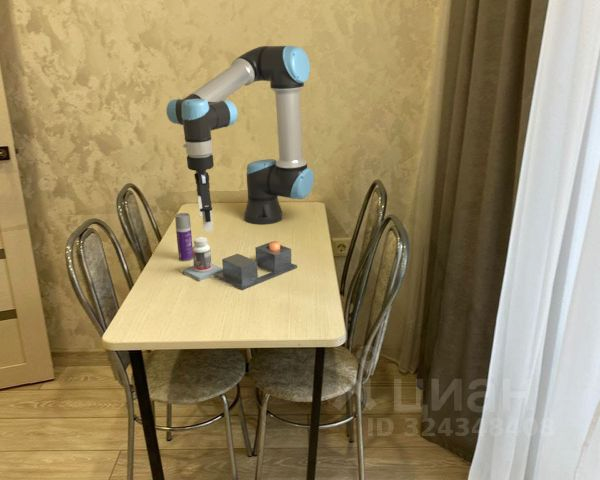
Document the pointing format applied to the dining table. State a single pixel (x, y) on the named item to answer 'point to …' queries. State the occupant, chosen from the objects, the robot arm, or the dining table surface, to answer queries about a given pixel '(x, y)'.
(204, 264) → the pill bottle
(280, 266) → the housing
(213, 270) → the pad
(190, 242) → the container
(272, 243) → the orange oval piece
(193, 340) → the dining table surface
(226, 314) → the dining table surface
